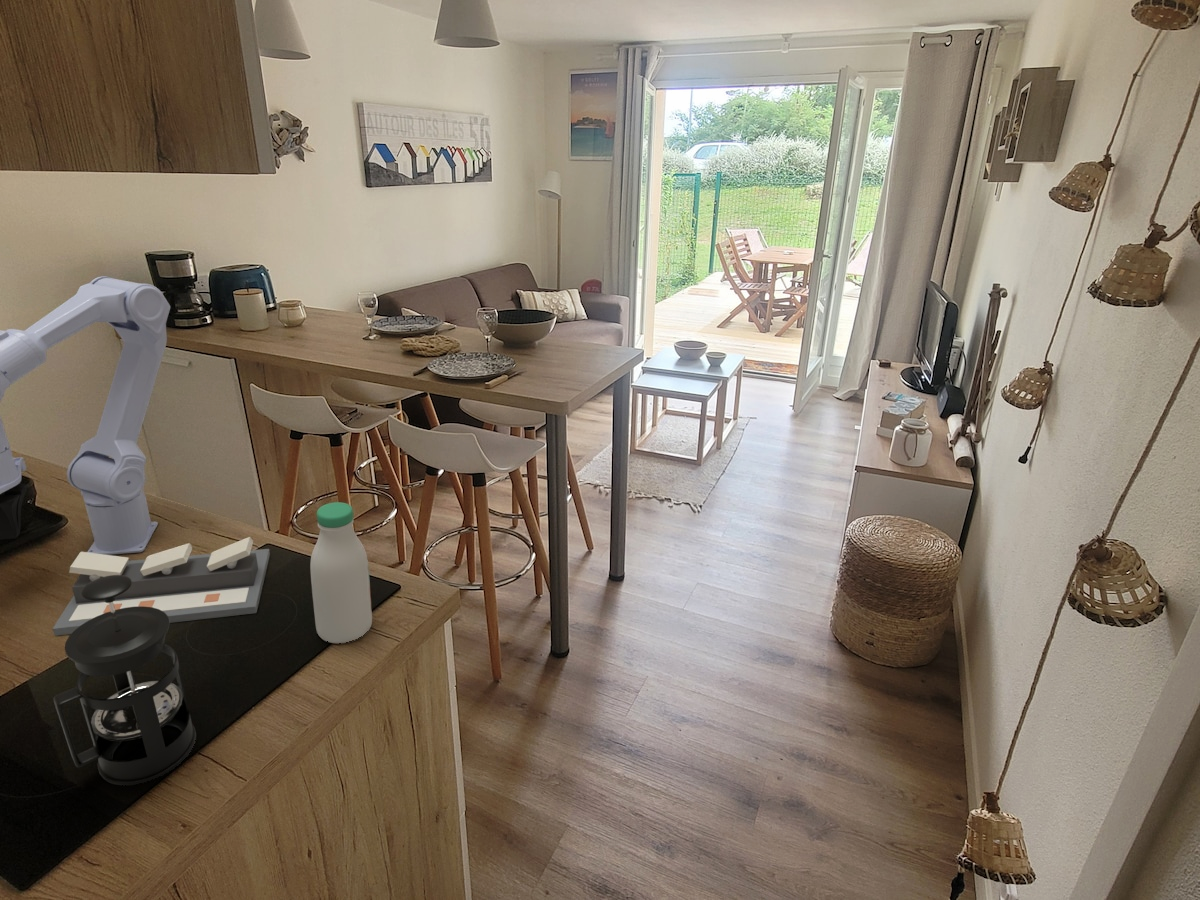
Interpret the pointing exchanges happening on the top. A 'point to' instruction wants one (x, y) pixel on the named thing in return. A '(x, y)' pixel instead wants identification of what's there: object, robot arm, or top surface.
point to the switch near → (98, 565)
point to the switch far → (230, 554)
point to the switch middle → (166, 560)
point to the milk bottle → (340, 577)
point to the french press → (127, 688)
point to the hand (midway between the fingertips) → (9, 536)
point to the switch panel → (178, 591)
